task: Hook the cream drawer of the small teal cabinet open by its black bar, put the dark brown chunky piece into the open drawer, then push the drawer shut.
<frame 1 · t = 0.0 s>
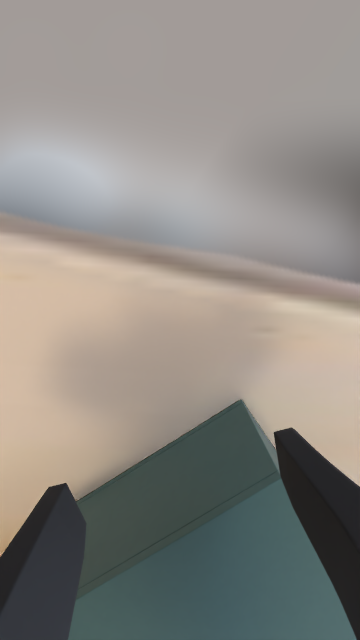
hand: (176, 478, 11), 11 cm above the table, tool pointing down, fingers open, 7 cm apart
cabinet: (205, 515, 24), on the table
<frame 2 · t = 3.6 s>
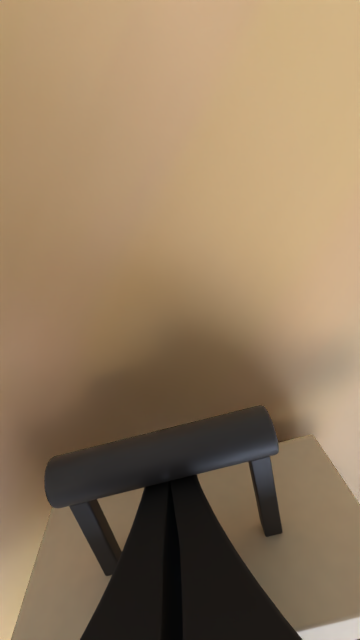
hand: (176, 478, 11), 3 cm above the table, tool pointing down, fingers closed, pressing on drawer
drawer: (213, 602, 13), point 4 cm above the table, slide at 2.4 cm, touching gripper
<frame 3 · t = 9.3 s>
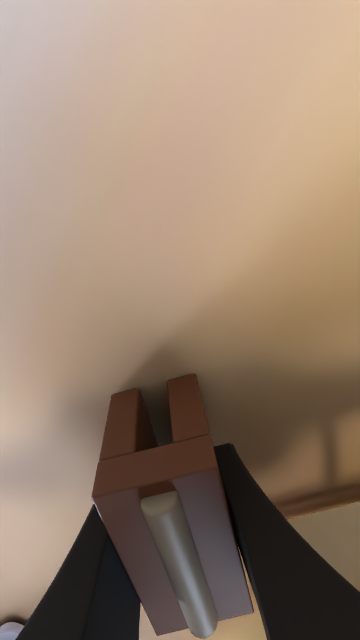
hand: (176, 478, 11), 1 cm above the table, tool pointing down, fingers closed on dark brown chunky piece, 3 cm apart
dark brown chunky piece: (173, 448, 12), on the table, touching gripper
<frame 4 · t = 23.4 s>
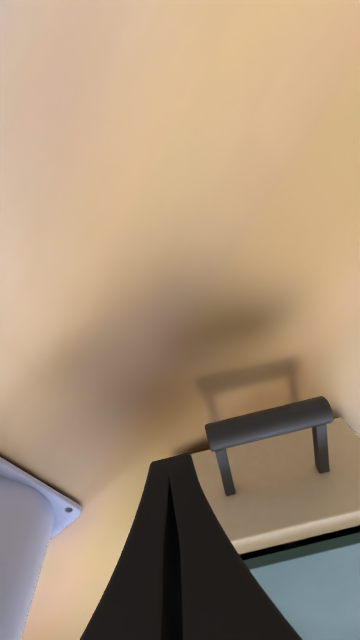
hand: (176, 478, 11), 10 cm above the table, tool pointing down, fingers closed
cabinet: (268, 508, 26), on the table
dark brown chunky piece: (270, 499, 23), point 2 cm above the table, touching drawer
drawer: (281, 521, 21), point 4 cm above the table, slide at 0.0 cm, touching dark brown chunky piece
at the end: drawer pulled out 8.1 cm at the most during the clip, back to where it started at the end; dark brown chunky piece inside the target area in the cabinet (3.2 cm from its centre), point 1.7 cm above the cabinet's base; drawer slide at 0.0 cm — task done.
